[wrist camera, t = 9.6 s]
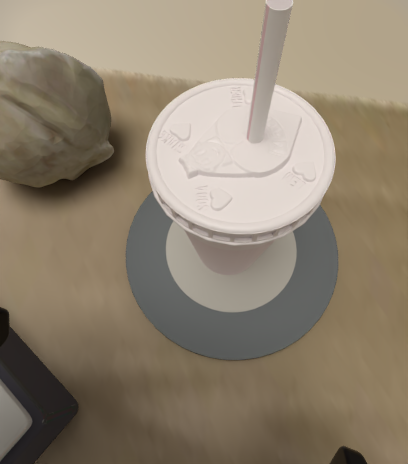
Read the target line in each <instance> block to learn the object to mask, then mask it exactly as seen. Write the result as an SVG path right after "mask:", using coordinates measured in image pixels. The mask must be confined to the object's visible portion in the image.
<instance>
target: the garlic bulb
mask: <svg viewBox="0 0 408 464" xmlns="http://www.w3.org/2000/svg"><path fill="white" fill-rule="evenodd" d="M110 126H111V114H110V110H109V106H108V102H107V98H106V94H105V90H104V84H103V80H102V78H101V77H100V76H99V75H98V74H97V73H96V72H95V71H94V70H93V69H92V68H91V67H89V66H87V65H86V64H84V63H82V62H80V61H79V60H77V59H76V58H74V57H71V56H69V55H67V54H65V53H60V52H58V51H56V50H53V49H48V48H42V47H32V48H31V47H28V46H25V45H22V44H18V43H13V42H5V41H1V42H0V179H2V180H6V181H10V182H13V183H19V184H25V185H28V186H32V187H43V186H45V185H49V184H52V183H55V182H56V181H58V180H59V179H68V180H75V179H77V178H78V177H79V176H80V175H82V174H83V173H84V172H85V171H86V170H87V169H88V168H90V167H92V166H95V165H97V164H99V163H102V162H103V161H105V160H107V159H108V158H110V157H111V155H112V154H113V153H114V149H113V146H112V145H110V144H109V141H108V137H109V132H110Z"/></svg>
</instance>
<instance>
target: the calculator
mask: <svg viewBox="0 0 408 464" xmlns="http://www.w3.org/2000/svg"><path fill="white" fill-rule="evenodd" d="M77 411H78V403H77V401H76V400H75V399H74V398H73V396H72V395H71V394H70V393H69V392H68V391H67V390H66V389H65V387H64V386H63V385H62V384H61V383H60V382H59V381H58V380H57V379H56V377H55V376H54V375H53V374H52V373H51V372H50V371H49V370H48V368H47V367H46V366H45V365H44V364H43V363H42V362H41V361H40V360H39V358H38V357H37V356H36V355H35V354H34V353H33V352H32V351H31V350H30V348H29V347H28V346H27V345H26V344H25V343H24V342H23V341H22V339H21V338H20V337H19V336H18V335H17V334H16V333H15V332H14V331H13V329H12V328H11V327H10V326H9V336H8V338H7V340H6V341H5V343H4V344H3V345H2V346H1V347H0V464H33V463H34V462H35V461H36V460H37V459H38V457H39V456H40V455H41V454H42V453H43V452H44V450H45V449H46V448H47V447H48V446H49V445H50V444H51V442H52V441H53V440H54V439H55V438H56V437H57V435H58V434H59V433H60V432H61V431H62V430H63V429H64V427H65V426H66V425H67V424H68V423H69V422H70V420H71V419H72V418H73V417H74V416H75V414H76V413H77Z"/></svg>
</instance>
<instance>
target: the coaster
mask: <svg viewBox="0 0 408 464" xmlns="http://www.w3.org/2000/svg"><path fill="white" fill-rule="evenodd" d="M126 268H127V274H128V280H129V283H130V286H131V289H132V293H133V295H134V297H135V299H136V301H137V303H138V305H139V307H140V308H141V310H142V311H143V313H144V314H145V316H146V317H147V318H148V319H149V321H150V322H151V323H152V324H153V325H154V326H155V327H156V328H157V329H158V330H159V331H160V332H161V333H162V334H164V335H165V336H166V337H167V338H168V339H170V340H172V341H173V342H175V343H176V344H178V345H179V346H181V347H183V348H185V349H188V350H190V351H192V352H194V353H197V354H200V355H204V356H207V357H210V358H217V359H224V360H243V359H251V358H258V357H261V356H265V355H268V354H272V353H274V352H276V351H279V350H281V349H283V348H285V347H287V346H289V345H290V344H292V343H294V342H295V341H297V340H298V339H300V338H301V337H302V336H303V335H304V334H305V333H307V332H308V331H309V330H310V329H311V328H312V327H313V325H314V324H315V323H316V322H317V321H318V320H319V319H320V317H321V315H322V314H323V312H324V311H325V309H326V307H327V306H328V304H329V301H330V299H331V297H332V294H333V291H334V288H335V284H336V280H337V273H338V250H337V244H336V239H335V235H334V232H333V229H332V226H331V224H330V222H329V219H328V217H327V215H326V214H325V212H324V210H323V209H322V207H321V205H319V207H318V208H317V209H316V210H315V212H314V213H313V214H312V215H311V216H310V217H309V219H308V220H307V221H306V222H305V223H304V224H303V225H301V226H300V227H298V228H297V229H295V230H294V231H292V232H290V233H289V234H287V235H286V236H284V237H281V238H278V239H276V240H275V241H274V242H273V243H272V244H271V245H270V246H269V247H268V248H267V249H266V250H265V251H264V252H263V253H262V254H261V255H260V256H259V257H258V258H257V259H256V260H255V261H254V263H253V264H252V265H251V266H250V267H249V268H247V269H246V270H245V271H243V272H241V273H238V274H234V275H222V274H218V273H216V272H213V271H212V270H210V269H209V268H208V267H206V266H205V264H204V263H203V262H202V260H201V259H200V257H199V255H198V253H197V252H196V250H195V248H194V246H193V245H192V243H191V241H190V239H189V238H188V236H187V234H186V232H185V231H184V229H183V228H181V227H180V226H179V225H178V224H177V223H176V222H174V221H173V220H172V219H171V218H170V217H168V216H167V215H166V213H165V212H164V210H163V209H162V207H161V206H160V204H159V203H158V201H157V200H156V198H155V197H154V194H153V191H152V192H151V193H150V194H149V195H148V196H147V198H146V199H145V201H144V202H143V203H142V205H141V206H140V208H139V210H138V211H137V213H136V215H135V217H134V220H133V222H132V225H131V227H130V231H129V235H128V239H127V246H126Z"/></svg>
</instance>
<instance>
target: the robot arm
mask: <svg viewBox="0 0 408 464" xmlns="http://www.w3.org/2000/svg"><path fill="white" fill-rule="evenodd" d="M8 336H9V312H8V311H7V310H6V309H4V308H1V307H0V347H1V346H2V345H3V344H4V343H5V341H6V340H7V338H8ZM330 464H367V462H366V460H365V459H364V457H363V456H362V455H361V453H359V452H358V451H355V450H353V449H350V448H348V447H345V446H342V447H340V448H339V449H338V451H337V453H336V454H335V456H334V457H333V459H332V461H331V462H330Z"/></svg>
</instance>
